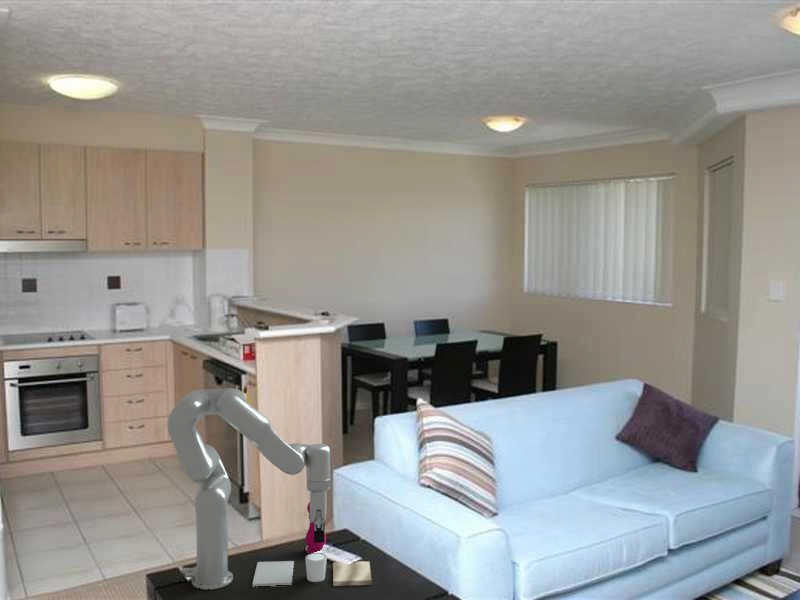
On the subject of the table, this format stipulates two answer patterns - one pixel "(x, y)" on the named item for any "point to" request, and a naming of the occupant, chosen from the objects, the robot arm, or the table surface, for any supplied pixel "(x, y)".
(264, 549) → the table surface
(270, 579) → the grey tile
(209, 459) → the robot arm
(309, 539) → the pepper mill
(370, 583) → the birch board
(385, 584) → the table surface
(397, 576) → the table surface
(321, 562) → the shot glass
